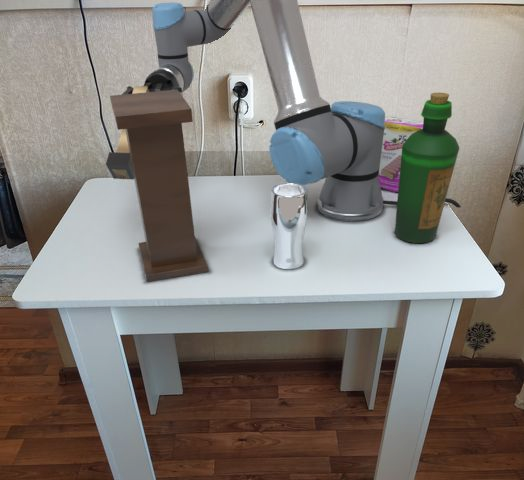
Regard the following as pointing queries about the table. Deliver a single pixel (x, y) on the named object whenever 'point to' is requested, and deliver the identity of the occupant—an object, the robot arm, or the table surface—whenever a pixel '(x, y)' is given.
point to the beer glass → (289, 223)
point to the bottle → (426, 173)
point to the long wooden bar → (123, 152)
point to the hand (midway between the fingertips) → (130, 113)
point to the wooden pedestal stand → (161, 181)
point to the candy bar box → (394, 150)
